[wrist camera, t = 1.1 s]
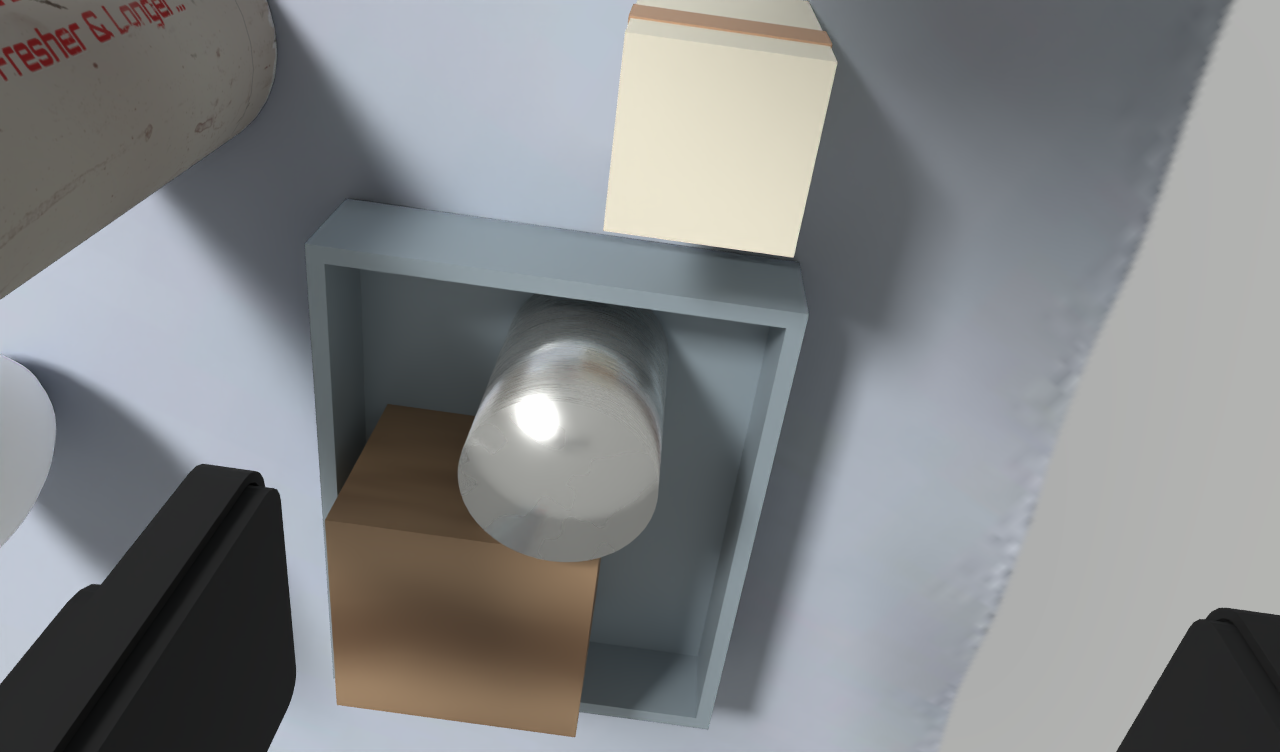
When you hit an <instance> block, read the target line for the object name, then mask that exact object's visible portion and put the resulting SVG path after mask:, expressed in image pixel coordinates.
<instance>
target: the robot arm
mask: <svg viewBox="0 0 1280 752" xmlns="http://www.w3.org/2000/svg"><path fill="white" fill-rule="evenodd" d="M295 680H296V663H295V652H294V641H293V630H292V619H291V608H290V597H289V586H288V575H287V564H286V553H285V542H284V531H283V520H282V509H281V499H280V494H279V492H278V490H277V489H274V488H267V487H265V484H264V479H263V477H262V476H261V474H260V473H259V472H256V471H250V470H243V469H236V468H229V467H222V466H215V465H208V464H201V465H198V466H196V467H195V468H194V469H193V470H192V471H191V472H190V473H189V474H188V476H187V477H186V478H185V479H184V481H183V482H182V483H181V484H180V486H179V487H178V488H177V489H176V491H175V492H174V493H173V494H172V496H171V497H170V498H169V500H168V501H167V502H166V503H165V505H164V506H163V507H162V508H161V510H160V511H159V512H158V513H157V515H156V516H155V517H154V518H153V520H152V521H151V522H150V523H149V525H148V526H147V527H146V529H145V530H144V531H143V532H142V534H141V535H140V536H139V537H138V539H137V540H136V541H135V542H134V544H133V545H132V546H131V547H130V549H129V550H128V551H127V552H126V554H125V555H124V556H123V558H122V559H121V560H120V561H119V563H118V564H117V565H116V566H115V568H114V569H113V570H112V571H111V573H110V574H109V575H108V576H107V578H106V579H105V580H104V582H103V583H102V584H101V585H98V584H91V585H89V586H87V587H85V588H83V589H81V590H80V591H79V592H78V593H76V594H75V595H74V596H73V597H72V598H71V599H70V600H69V601H68V602H67V603H66V605H65V606H64V607H63V608H62V609H61V611H60V612H59V613H58V614H57V616H56V617H55V618H54V619H53V621H52V622H51V623H50V624H49V625H48V627H47V628H46V629H45V630H44V632H43V633H42V634H41V635H40V636H39V638H38V639H37V640H36V641H35V643H34V644H33V645H32V646H31V647H30V649H29V650H28V651H27V652H26V654H25V655H24V656H23V657H22V658H21V660H20V661H19V662H18V663H17V665H16V666H15V667H14V668H13V669H12V671H11V672H10V673H9V674H8V676H7V677H6V678H5V679H4V680H3V682H2V683H1V684H0V752H267V751H268V749H269V747H270V744H271V742H272V740H273V738H274V736H275V734H276V732H277V730H278V728H279V725H280V723H281V721H282V719H283V717H284V715H285V713H286V711H287V709H288V706H289V704H290V701H291V698H292V695H293V691H294V686H295ZM1117 752H1280V615H1274V614H1267V613H1259V612H1252V611H1245V610H1238V609H1231V608H1218V609H1216V610H1214V611H1212V612H1211V613H1210V614H1209V615H1208V617H1207V618H1206V619H1199V620H1197V621H1195V622H1194V623H1193V624H1192V625H1191V626H1190V628H1189V629H1188V631H1187V633H1186V635H1185V636H1184V638H1183V639H1182V641H1181V643H1180V644H1179V646H1178V648H1177V650H1176V651H1175V653H1174V655H1173V656H1172V658H1171V660H1170V661H1169V663H1168V665H1167V667H1166V668H1165V670H1164V672H1163V673H1162V675H1161V677H1160V678H1159V680H1158V682H1157V684H1156V685H1155V687H1154V689H1153V690H1152V692H1151V694H1150V696H1149V697H1148V699H1147V701H1146V702H1145V704H1144V706H1143V707H1142V709H1141V711H1140V713H1139V714H1138V716H1137V718H1136V719H1135V721H1134V723H1133V724H1132V726H1131V728H1130V729H1129V731H1128V733H1127V735H1126V736H1125V738H1124V740H1123V741H1122V743H1121V745H1120V746H1119V748H1118V750H1117Z"/></svg>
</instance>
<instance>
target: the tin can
mask: <svg viewBox="0 0 1280 752" xmlns="http://www.w3.org/2000/svg"><path fill="white" fill-rule="evenodd" d="M668 359H669V350H668V343H667V338H666V335H665V332H664V329H663V327H662V325H661V323H660V321H659V320H658V318H657V317H656V315H655V314H654V313H653V311H652V310H651V309H644V308H637V307H630V306H623V305H615V304H608V303H601V302H594V301H587V300H580V299H572V298H565V297H558V296H551V295H544V294H537V293H535V294H534V295H533V296H531V297H530V298H529V299H528V300H527V301H526V302H525V303H524V304H523V305H522V306H521V307H520V309H519V310H518V312H517V313H516V315H515V316H514V318H513V321H512V323H511V325H510V328H509V330H508V333H507V335H506V338H505V341H504V343H503V346H502V348H501V351H500V354H499V356H498V359H497V361H496V364H495V367H494V369H493V372H492V374H491V377H490V380H489V382H488V385H487V387H486V390H485V393H484V395H483V398H482V400H481V403H480V406H479V408H478V411H477V413H476V416H475V419H474V421H473V424H472V426H471V429H470V431H469V434H468V437H467V439H466V442H465V444H464V447H463V450H462V452H461V456H460V460H459V465H458V484H459V488H460V493H461V496H462V498H463V501H464V504H465V505H466V507H467V509H468V511H469V513H470V514H471V515H472V517H473V518H474V520H475V521H476V522H477V523H478V524H479V525H480V526H481V527H482V529H483V530H484V531H486V532H487V533H488V534H489V535H490V536H491V537H493V538H494V539H495V540H497V541H498V542H500V543H501V544H503V545H505V546H507V547H509V548H510V549H512V550H514V551H517V552H519V553H522V554H524V555H527V556H530V557H534V558H537V559H542V560H547V561H555V562H580V561H588V560H592V559H597V558H600V557H603V556H606V555H609V554H612V553H614V552H616V551H618V550H620V549H622V548H623V547H625V546H626V545H628V544H629V543H631V542H632V541H633V540H634V539H635V538H636V537H638V536H639V534H640V533H641V532H642V531H643V530H644V529H645V528H646V526H647V524H648V523H649V521H650V520H651V518H652V515H653V513H654V511H655V508H656V504H657V500H658V489H659V476H660V463H661V450H662V437H663V424H664V411H665V398H666V385H667V372H668Z"/></svg>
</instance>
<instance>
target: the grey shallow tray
mask: <svg viewBox="0 0 1280 752" xmlns="http://www.w3.org/2000/svg"><path fill="white" fill-rule="evenodd" d="M305 259H306V274H307V289H308V304H309V319H310V334H311V348H312V363H313V378H314V393H315V408H316V423H317V438H318V453H319V468H320V483H321V498H322V513H323V528H324V543H325V558H326V573H327V588H328V603H329V618H330V633H331V648H332V663H333V678H335V668H334V653H333V638H332V622H331V607H330V592H329V577H328V561H327V546H326V531H325V519H326V517H327V515H328V513H329V511H330V510H331V508H332V506H333V504H334V502H335V500H336V498H337V497H338V495H339V493H340V491H341V489H342V487H343V486H344V484H345V482H346V480H347V478H348V476H349V474H350V473H351V471H352V469H353V467H354V465H355V463H356V462H357V460H358V458H359V456H360V454H361V452H362V450H363V449H364V447H365V445H366V443H367V441H368V439H369V438H370V436H371V434H372V432H373V430H374V428H375V426H376V425H377V423H378V421H379V419H380V417H381V415H382V414H383V412H384V410H385V408H386V406H387V404H392V405H399V406H407V407H414V408H421V409H428V410H435V411H443V412H450V413H457V414H464V415H471V416H476V413H477V411H478V408H479V406H480V403H481V400H482V398H483V395H484V393H485V390H486V387H487V385H488V382H489V380H490V377H491V374H492V372H493V369H494V367H495V364H496V361H497V359H498V356H499V354H500V351H501V348H502V346H503V343H504V341H505V338H506V335H507V333H508V330H509V328H510V325H511V323H512V321H513V318H514V316H515V315H516V313H517V312H518V310H519V309H520V307H521V306H522V305H523V304H524V303H525V302H526V301H527V300H528V299H529V298H530V297H531V296H533V295H534V294H535V293H537V294H544V295H551V296H558V297H565V298H572V299H580V300H587V301H594V302H601V303H608V304H615V305H623V306H630V307H637V308H644V309H651V310H652V311H653V313H654V314H655V315H656V317H657V318H658V320H659V321H660V323H661V325H662V327H663V329H664V332H665V335H666V338H667V343H668V350H669V359H668V372H667V385H666V398H665V411H664V424H663V437H662V450H661V463H660V476H659V489H658V500H657V504H656V508H655V511H654V513H653V515H652V518H651V520H650V521H649V523H648V524H647V526H646V528H645V529H644V530H643V531H642V532H641V533H640V534H639V536H638V537H636V538H635V539H634V540H633V541H632V542H631V543H629V544H628V545H626V546H625V547H623V548H622V549H620V550H618V551H616V552H614V553H612V554H609V555H606V556H603V557H601V563H600V570H599V577H598V585H597V592H596V600H595V607H594V614H593V620H592V627H591V634H590V641H589V648H588V654H587V661H586V668H585V675H584V682H583V688H582V695H581V702H580V709H579V712H584V713H591V714H598V715H606V716H613V717H620V718H627V719H635V720H642V721H649V722H657V723H664V724H671V725H679V726H686V727H693V728H701V729H709V724H710V720H711V716H712V712H713V708H714V704H715V700H716V696H717V691H718V687H719V683H720V679H721V675H722V671H723V667H724V663H725V659H726V654H727V650H728V646H729V642H730V638H731V634H732V630H733V626H734V621H735V617H736V613H737V609H738V605H739V601H740V597H741V593H742V588H743V584H744V580H745V576H746V572H747V568H748V564H749V560H750V556H751V551H752V547H753V543H754V539H755V535H756V531H757V527H758V523H759V518H760V514H761V510H762V506H763V502H764V498H765V494H766V490H767V485H768V481H769V477H770V473H771V469H772V465H773V461H774V457H775V453H776V448H777V444H778V440H779V436H780V432H781V428H782V424H783V420H784V415H785V411H786V407H787V403H788V399H789V395H790V391H791V387H792V383H793V378H794V374H795V370H796V366H797V362H798V358H799V354H800V350H801V345H802V341H803V337H804V333H805V329H806V325H807V321H808V317H809V312H808V306H807V301H806V296H805V290H804V285H803V280H802V274H801V269H800V264H799V262H795V261H788V260H781V259H774V258H767V257H760V256H753V255H746V254H738V253H731V252H724V251H717V250H710V249H703V248H696V247H688V246H681V245H674V244H667V243H660V242H653V241H646V240H639V239H631V238H624V237H617V236H610V235H603V234H596V233H589V232H581V231H574V230H567V229H560V228H553V227H546V226H539V225H532V224H524V223H517V222H510V221H503V220H496V219H489V218H482V217H474V216H467V215H460V214H453V213H446V212H439V211H432V210H425V209H417V208H410V207H403V206H396V205H389V204H382V203H375V202H367V201H360V200H353V199H346V200H345V201H344V202H343V203H342V204H341V205H340V206H339V207H338V208H337V209H336V210H335V211H334V213H333V214H332V215H331V216H330V217H329V218H328V219H327V220H326V221H325V222H324V223H323V224H322V226H321V227H320V228H319V229H318V230H317V231H316V232H315V233H314V234H313V235H312V236H311V237H310V238H309V240H308V241H307V242H306V243H305Z"/></svg>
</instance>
